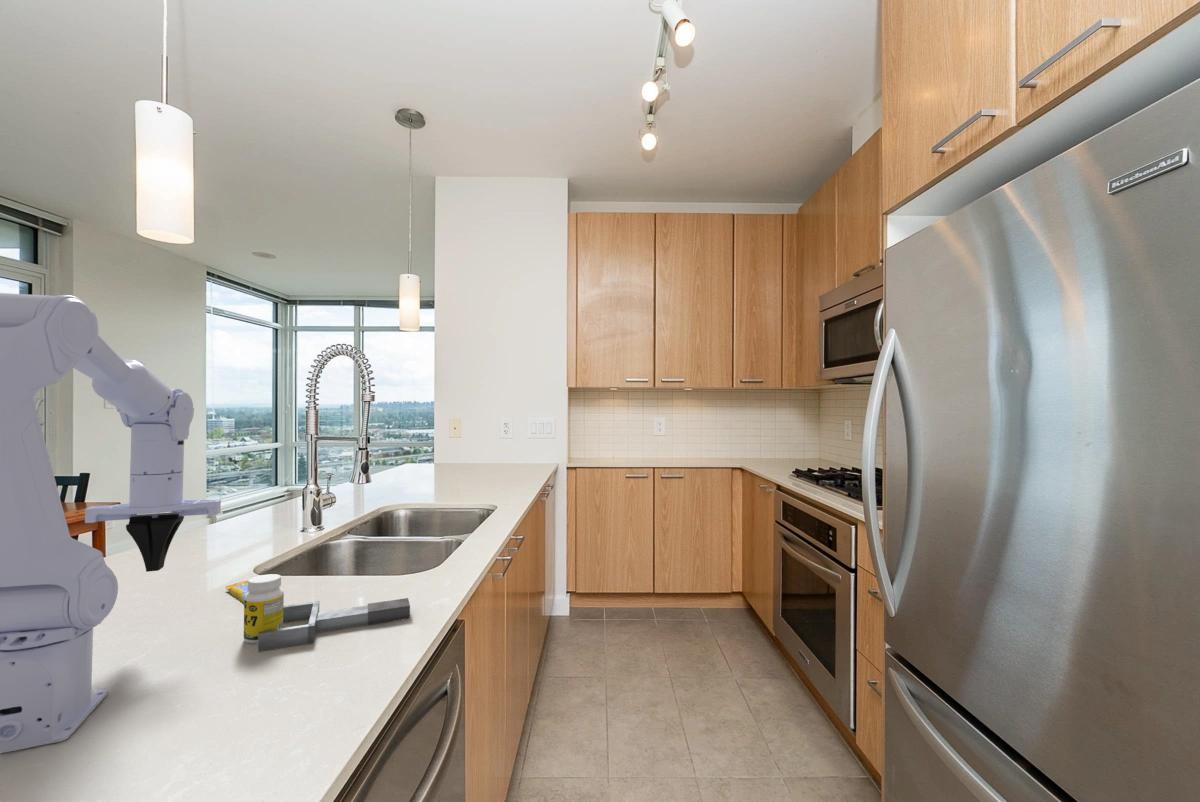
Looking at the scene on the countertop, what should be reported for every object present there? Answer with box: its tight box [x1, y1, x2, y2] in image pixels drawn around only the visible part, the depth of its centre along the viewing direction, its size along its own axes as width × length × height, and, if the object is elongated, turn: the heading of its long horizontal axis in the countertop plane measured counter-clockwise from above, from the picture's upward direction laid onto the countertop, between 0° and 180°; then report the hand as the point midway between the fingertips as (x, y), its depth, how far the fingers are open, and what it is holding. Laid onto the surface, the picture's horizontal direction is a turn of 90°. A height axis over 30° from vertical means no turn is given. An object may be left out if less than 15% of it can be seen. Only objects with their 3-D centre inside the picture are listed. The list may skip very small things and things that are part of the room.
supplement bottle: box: [243, 573, 285, 645], centre depth 73 cm, size 5×5×8 cm
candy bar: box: [225, 580, 249, 604], centre depth 87 cm, size 17×4×2 cm, turn 49°
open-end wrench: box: [257, 597, 411, 653], centre depth 77 cm, size 10×20×2 cm, turn 115°
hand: (155, 569), depth 72 cm, fingers closed
